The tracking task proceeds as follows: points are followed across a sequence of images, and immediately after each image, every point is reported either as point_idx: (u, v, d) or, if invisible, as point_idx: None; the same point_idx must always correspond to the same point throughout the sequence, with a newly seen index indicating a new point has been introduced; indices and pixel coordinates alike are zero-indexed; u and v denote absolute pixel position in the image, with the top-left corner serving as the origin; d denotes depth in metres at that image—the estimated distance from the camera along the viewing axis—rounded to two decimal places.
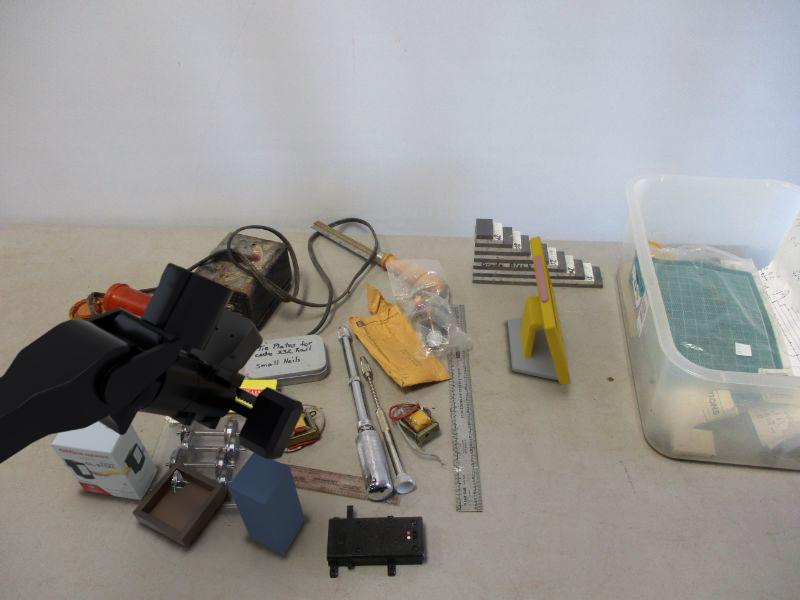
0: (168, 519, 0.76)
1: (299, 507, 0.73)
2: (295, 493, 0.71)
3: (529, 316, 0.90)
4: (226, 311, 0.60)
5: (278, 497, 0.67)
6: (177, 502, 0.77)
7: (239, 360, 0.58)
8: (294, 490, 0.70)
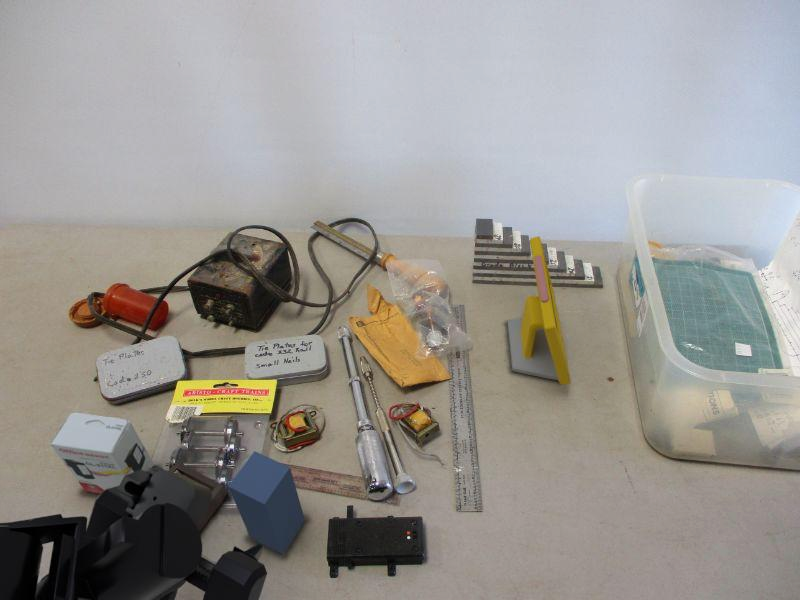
0: None
1: (299, 507, 0.73)
2: (295, 493, 0.71)
3: (529, 316, 0.90)
4: (163, 473, 0.52)
5: (278, 497, 0.67)
6: None
7: None
8: (294, 490, 0.70)
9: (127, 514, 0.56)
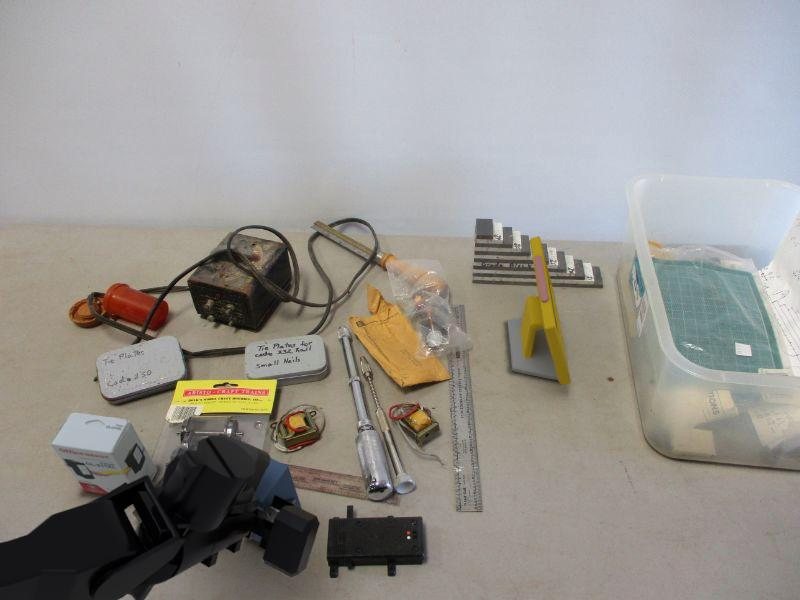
0: None
1: (299, 507, 0.73)
2: (294, 492, 0.71)
3: (529, 316, 0.90)
4: (230, 439, 0.61)
5: None
6: None
7: (251, 489, 0.60)
8: (293, 489, 0.70)
9: None
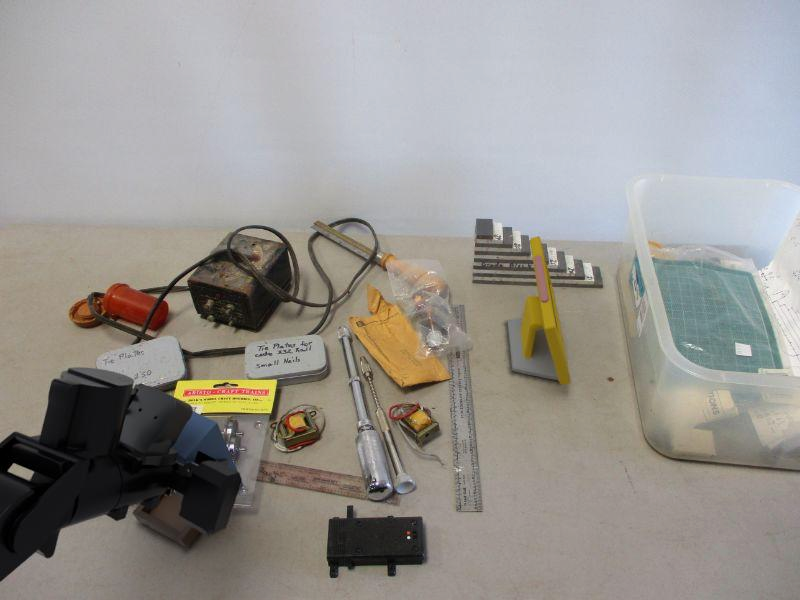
0: (168, 519, 0.76)
1: None
2: (227, 453, 0.67)
3: (529, 316, 0.90)
4: (148, 388, 0.58)
5: None
6: (177, 502, 0.77)
7: (167, 441, 0.56)
8: (225, 449, 0.66)
9: None
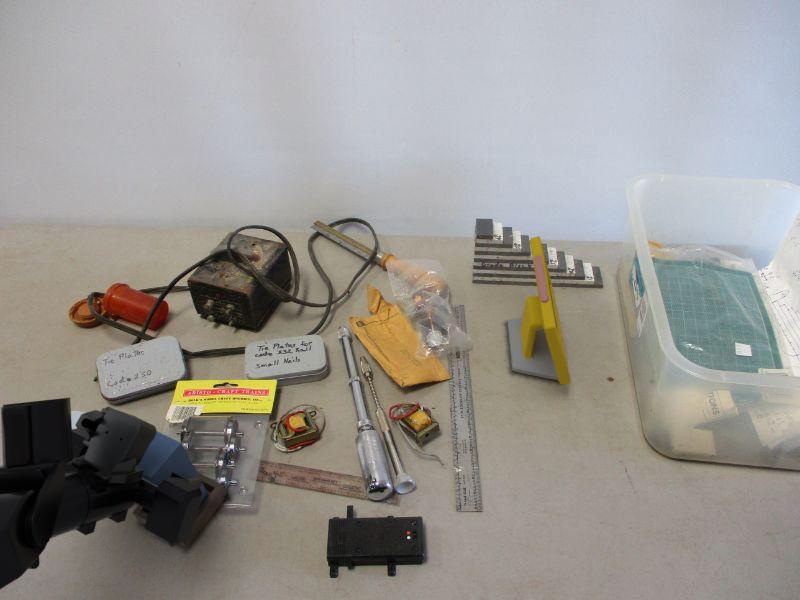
0: None
1: None
2: (192, 470, 0.72)
3: (529, 316, 0.90)
4: (114, 412, 0.62)
5: (169, 472, 0.68)
6: None
7: (132, 460, 0.61)
8: (190, 467, 0.71)
9: (87, 449, 0.66)
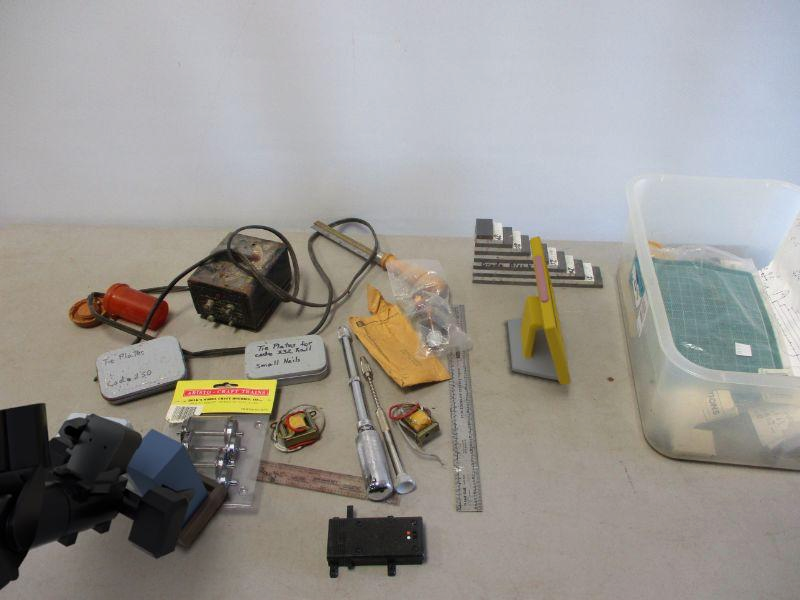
0: None
1: (201, 485, 0.74)
2: (194, 471, 0.72)
3: (529, 316, 0.90)
4: (99, 419, 0.61)
5: (171, 473, 0.68)
6: None
7: (116, 469, 0.59)
8: (192, 468, 0.71)
9: (71, 458, 0.64)
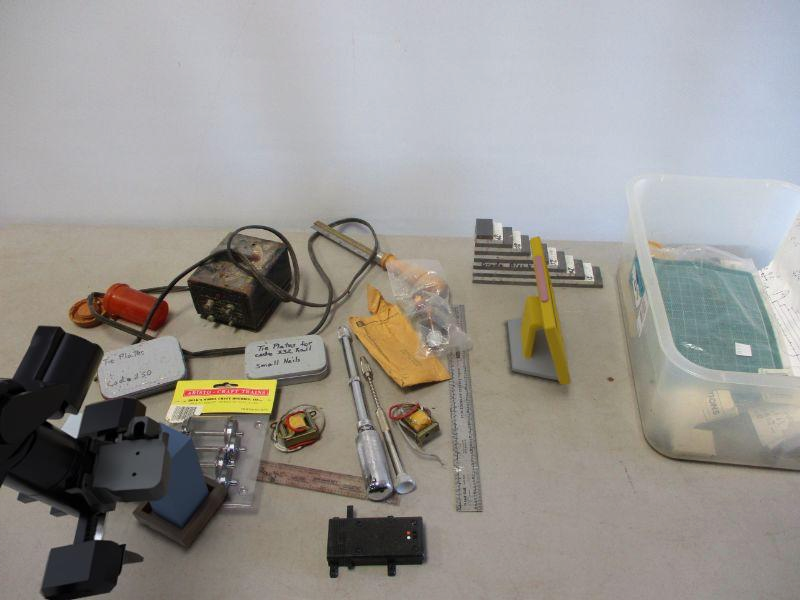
0: None
1: (203, 483, 0.75)
2: (198, 467, 0.72)
3: (529, 316, 0.90)
4: (162, 448, 0.54)
5: (177, 466, 0.68)
6: None
7: (117, 498, 0.53)
8: (196, 463, 0.72)
9: (121, 430, 0.59)
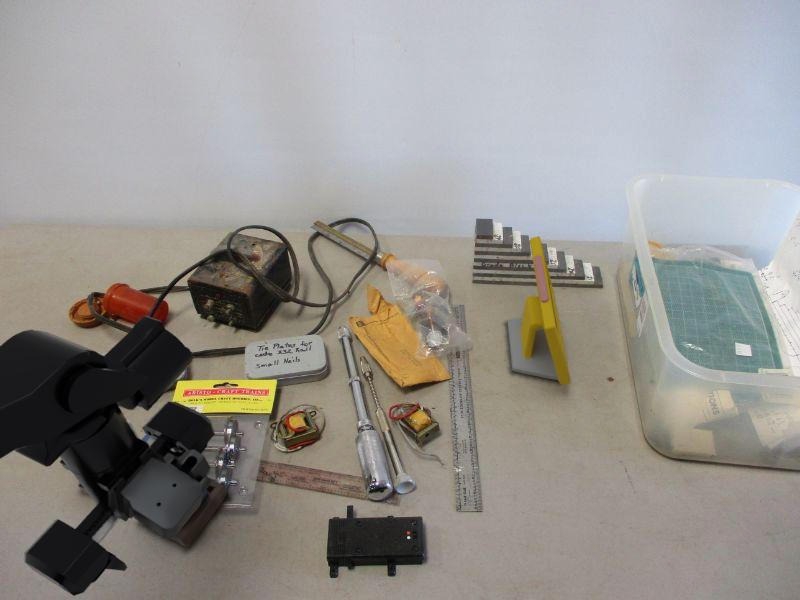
0: None
1: None
2: None
3: (529, 316, 0.90)
4: (197, 494, 0.53)
5: None
6: None
7: (133, 514, 0.51)
8: None
9: (180, 445, 0.59)
